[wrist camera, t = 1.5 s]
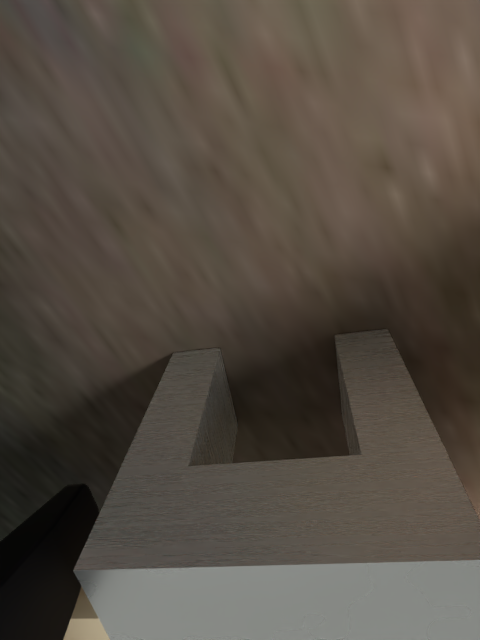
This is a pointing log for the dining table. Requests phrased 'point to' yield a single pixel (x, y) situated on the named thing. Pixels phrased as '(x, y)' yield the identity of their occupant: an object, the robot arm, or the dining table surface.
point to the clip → (286, 520)
